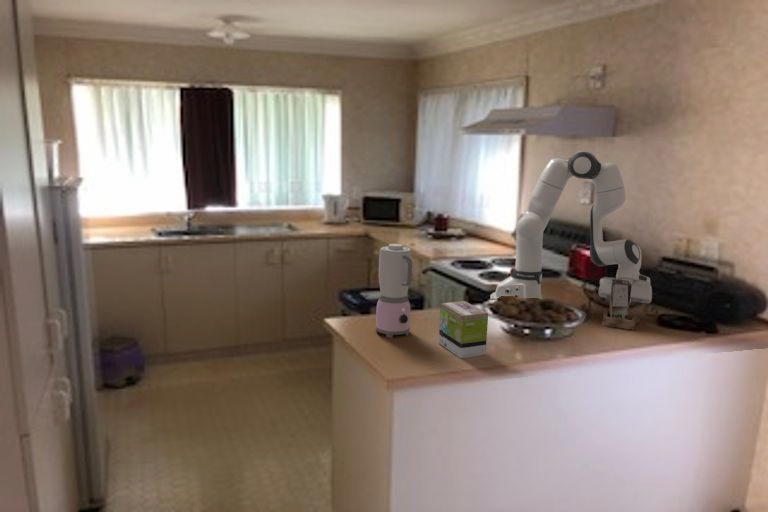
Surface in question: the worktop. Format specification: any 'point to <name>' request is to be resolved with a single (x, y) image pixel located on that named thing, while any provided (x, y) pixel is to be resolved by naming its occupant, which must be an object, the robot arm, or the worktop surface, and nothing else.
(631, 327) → the wooden tray
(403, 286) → the blender
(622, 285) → the coffee box
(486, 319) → the tea box
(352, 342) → the worktop surface
